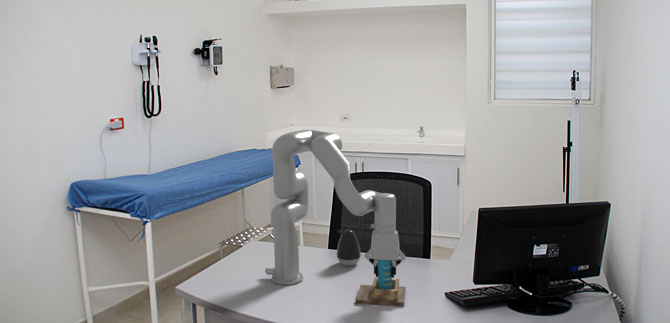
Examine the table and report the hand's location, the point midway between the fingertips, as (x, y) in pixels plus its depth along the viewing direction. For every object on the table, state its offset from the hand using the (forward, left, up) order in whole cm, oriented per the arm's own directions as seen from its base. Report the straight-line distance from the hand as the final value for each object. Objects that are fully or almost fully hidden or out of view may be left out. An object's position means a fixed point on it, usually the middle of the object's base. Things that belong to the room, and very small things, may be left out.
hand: (385, 275), depth 201 cm
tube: (0, 0, -6) cm, 6 cm away
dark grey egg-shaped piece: (-18, +33, -8) cm, 38 cm away
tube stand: (-1, 0, -8) cm, 8 cm away
